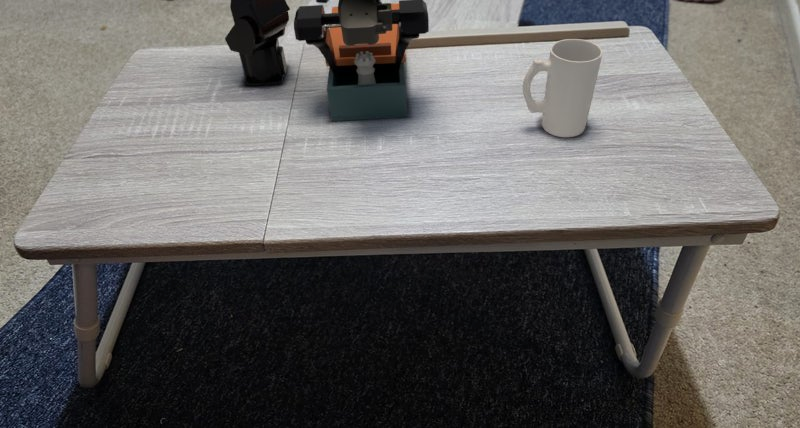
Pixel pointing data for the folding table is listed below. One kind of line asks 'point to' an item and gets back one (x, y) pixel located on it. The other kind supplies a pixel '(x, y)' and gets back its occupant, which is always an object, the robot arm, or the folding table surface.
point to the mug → (565, 86)
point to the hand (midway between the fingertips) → (366, 73)
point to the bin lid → (365, 46)
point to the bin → (367, 94)
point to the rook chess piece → (365, 68)
